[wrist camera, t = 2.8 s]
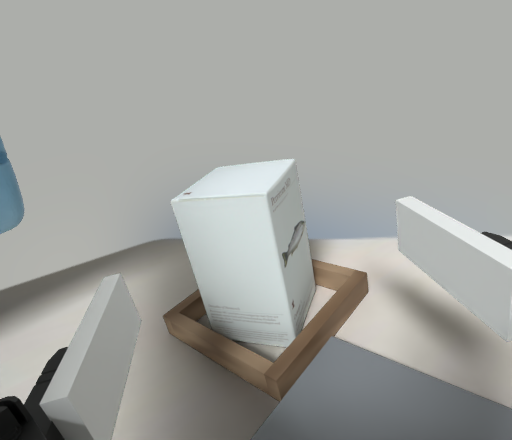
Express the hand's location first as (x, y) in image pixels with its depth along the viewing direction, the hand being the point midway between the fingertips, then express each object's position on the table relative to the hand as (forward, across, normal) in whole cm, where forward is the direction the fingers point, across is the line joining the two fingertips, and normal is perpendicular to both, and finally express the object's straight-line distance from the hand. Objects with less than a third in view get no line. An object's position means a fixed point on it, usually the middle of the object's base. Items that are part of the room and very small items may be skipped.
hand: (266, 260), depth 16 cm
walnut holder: (+10, 0, -11) cm, 15 cm away
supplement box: (+10, 0, -11) cm, 15 cm away
